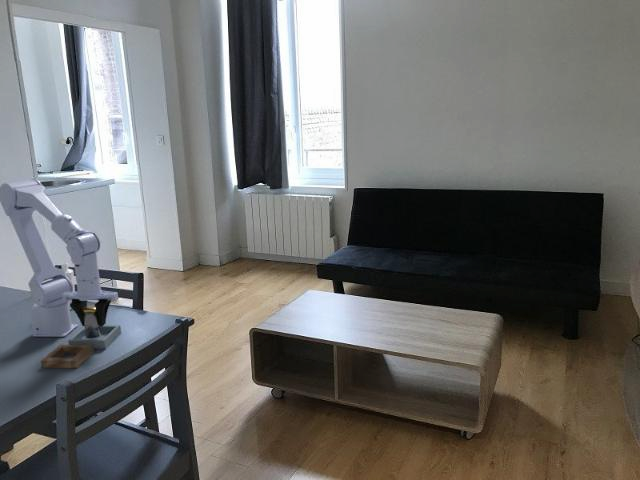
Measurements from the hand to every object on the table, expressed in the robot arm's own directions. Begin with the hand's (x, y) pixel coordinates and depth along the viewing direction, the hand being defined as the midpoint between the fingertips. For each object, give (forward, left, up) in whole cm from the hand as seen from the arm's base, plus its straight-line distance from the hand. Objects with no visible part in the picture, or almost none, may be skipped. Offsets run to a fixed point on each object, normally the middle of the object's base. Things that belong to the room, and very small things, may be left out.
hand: (94, 324), depth 145 cm
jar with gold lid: (0, -1, -3) cm, 3 cm away
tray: (0, 0, -5) cm, 5 cm away
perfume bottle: (-20, +24, -5) cm, 32 cm away
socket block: (-2, -11, -5) cm, 12 cm away
